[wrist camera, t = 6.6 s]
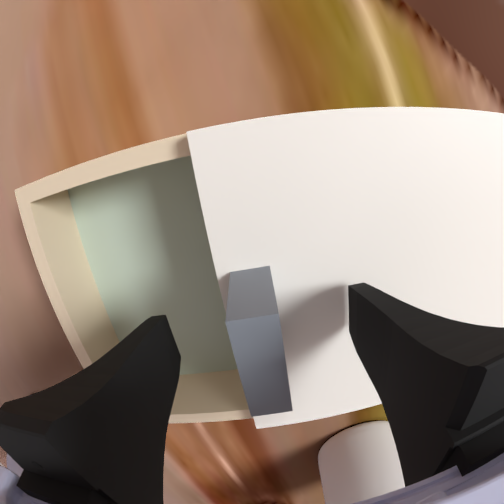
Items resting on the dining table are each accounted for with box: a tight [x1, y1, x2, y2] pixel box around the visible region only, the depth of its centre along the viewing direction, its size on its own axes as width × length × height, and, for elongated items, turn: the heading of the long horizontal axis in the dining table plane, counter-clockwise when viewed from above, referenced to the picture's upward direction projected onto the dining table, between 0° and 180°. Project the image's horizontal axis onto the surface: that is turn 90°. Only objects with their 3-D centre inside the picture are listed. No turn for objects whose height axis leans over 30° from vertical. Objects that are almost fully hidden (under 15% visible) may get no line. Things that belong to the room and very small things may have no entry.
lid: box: [187, 107, 504, 429], centre depth 10 cm, size 15×14×4 cm
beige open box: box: [15, 133, 253, 423], centre depth 14 cm, size 15×14×4 cm
